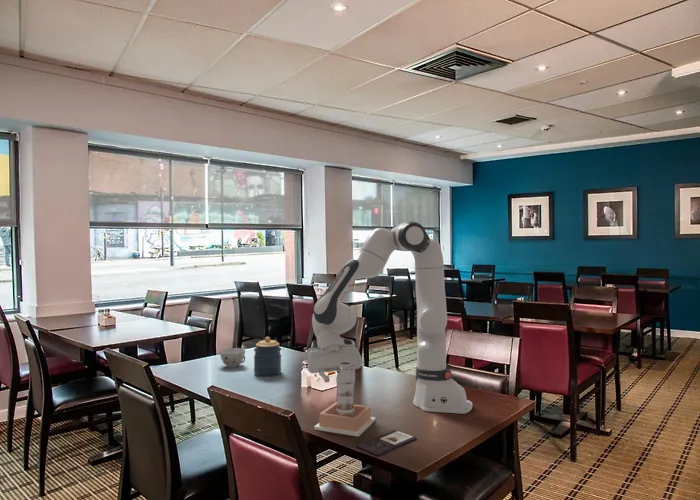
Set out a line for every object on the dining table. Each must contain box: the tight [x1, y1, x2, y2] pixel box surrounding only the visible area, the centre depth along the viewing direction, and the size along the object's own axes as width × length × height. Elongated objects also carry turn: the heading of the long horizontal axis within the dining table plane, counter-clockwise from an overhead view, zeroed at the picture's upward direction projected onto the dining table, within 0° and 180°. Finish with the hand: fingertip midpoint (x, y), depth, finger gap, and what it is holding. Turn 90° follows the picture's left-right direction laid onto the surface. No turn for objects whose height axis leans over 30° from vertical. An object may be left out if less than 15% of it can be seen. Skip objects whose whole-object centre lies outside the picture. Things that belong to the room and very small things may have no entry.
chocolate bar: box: [356, 429, 418, 457], centre depth 152 cm, size 9×1×18 cm
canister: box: [253, 336, 282, 378], centre depth 235 cm, size 13×13×18 cm
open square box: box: [313, 401, 377, 438], centre depth 168 cm, size 16×16×5 cm
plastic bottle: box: [335, 362, 356, 417], centre depth 168 cm, size 6×7×20 cm
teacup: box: [219, 347, 246, 368], centre depth 248 cm, size 15×12×8 cm
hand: (339, 380), depth 173 cm, fingers open, 8 cm apart
